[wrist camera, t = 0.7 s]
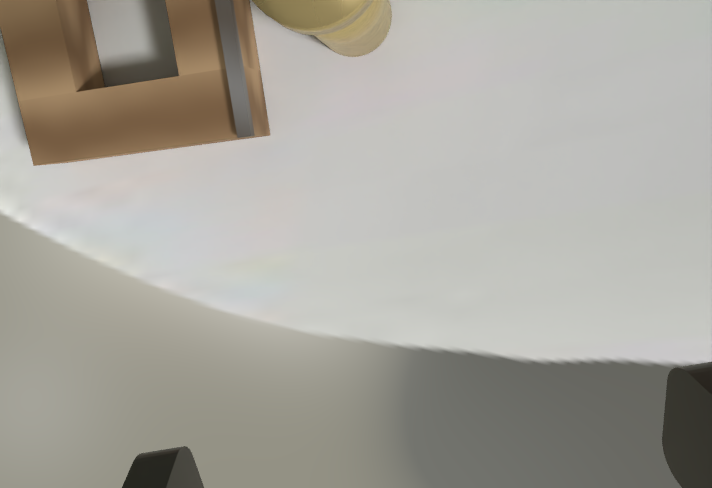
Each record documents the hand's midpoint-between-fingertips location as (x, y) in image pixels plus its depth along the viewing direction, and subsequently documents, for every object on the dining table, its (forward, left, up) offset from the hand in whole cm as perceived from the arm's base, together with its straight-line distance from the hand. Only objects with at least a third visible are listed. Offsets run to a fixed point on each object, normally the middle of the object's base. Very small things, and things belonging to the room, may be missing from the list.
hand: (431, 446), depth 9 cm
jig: (-13, -16, -24) cm, 32 cm away
